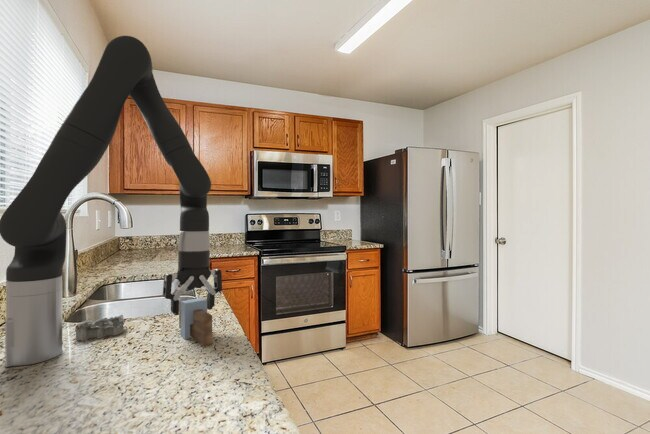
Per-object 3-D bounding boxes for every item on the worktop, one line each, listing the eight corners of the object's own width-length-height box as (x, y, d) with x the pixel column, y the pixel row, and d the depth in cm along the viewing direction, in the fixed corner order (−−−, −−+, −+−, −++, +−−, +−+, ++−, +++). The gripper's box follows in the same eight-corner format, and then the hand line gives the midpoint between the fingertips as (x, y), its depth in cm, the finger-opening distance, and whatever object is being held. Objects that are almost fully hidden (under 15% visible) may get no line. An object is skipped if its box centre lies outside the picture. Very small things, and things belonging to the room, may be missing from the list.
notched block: (184, 339, 83) (184, 303, 83) (180, 336, 86) (180, 301, 86) (207, 334, 87) (207, 299, 87) (202, 331, 89) (202, 297, 89)
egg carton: (73, 343, 82) (72, 326, 82) (77, 333, 88) (77, 318, 88) (123, 335, 87) (123, 319, 87) (124, 326, 94) (124, 312, 94)
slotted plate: (203, 346, 79) (203, 316, 79) (179, 327, 93) (179, 301, 93) (212, 344, 80) (212, 315, 80) (186, 325, 94) (186, 300, 94)
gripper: (169, 251, 79) (168, 320, 79) (226, 248, 88) (225, 310, 88) (160, 248, 85) (159, 313, 85) (215, 246, 94) (214, 304, 94)
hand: (193, 311), depth 86 cm, fingers open, 8 cm apart
